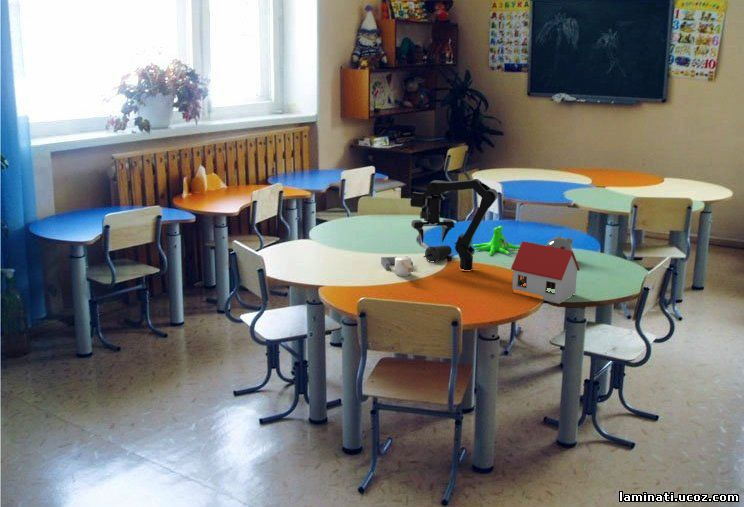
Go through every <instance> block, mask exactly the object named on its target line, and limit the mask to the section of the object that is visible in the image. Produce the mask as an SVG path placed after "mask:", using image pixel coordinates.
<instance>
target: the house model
mask: <svg viewBox="0 0 744 507" xmlns="http://www.w3.org/2000/svg"><path fill="white" fill-rule="evenodd" d="M519 246H520V248H519V249H517V253H516V255H515V258H514V260H513V262H512V264H511V268H510V270H512V286H511V287H512V289H515V290H520V291H524V292H528V293H532V294H537V295H540V296H542V297H543V298H544V300H543V301H547V302H550V303H555V304H558V305H560V304H561V303H563V302H564V301H563V300H565V299H567V298H568V297H570V296H571V295H573V294H575V295H576V291H577V290H576V289H577V278H578V272H579V271H580V266H579V264H578V261H577V258H576V256H575V252H574V251H573V250H572V251H571V250H566V249H565V247H563V246H562V247H560V248H556V247H550V246H547V245H544V244H540V243H533V242H528V241H525V240H524V241H521V243H520V245H519ZM524 283H526V286H523V284H524ZM521 285H522V286H521ZM547 288H551V289H555V293H552V292H551V291H550V292H548V291H546V290H547ZM570 298H571V297H570ZM567 300H568V299H567ZM562 301H563V302H562ZM565 301H566V300H565Z"/></svg>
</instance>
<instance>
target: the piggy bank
mask: <svg viewBox="0 0 744 507" xmlns="http://www.w3.org/2000/svg"><path fill="white" fill-rule="evenodd" d="M573 243H574V240H573V238H572V237H568V238H565V237H562V236H561V235H557V236H556V237H554V238H551V239H550V240H549V241H548V242H547V244H546V246H550V247H556V248H560V247H562V246H563V247H565V249H566V250H571V251H573V247H572V244H573Z"/></svg>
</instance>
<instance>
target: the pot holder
mask: <svg viewBox="0 0 744 507" xmlns="http://www.w3.org/2000/svg"><path fill="white" fill-rule="evenodd" d="M396 257H397V256H385V257H384V256H382V257H380V258H381V259H380V264H381V265H382V267H383V269H384V270H385V269H386V270H385V271H389V270H391V265H395V258H396ZM404 257H409V256H404ZM411 265H412V267H413V268H414V262H413V261H412V260H411Z"/></svg>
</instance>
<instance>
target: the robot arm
mask: <svg viewBox="0 0 744 507" xmlns="http://www.w3.org/2000/svg"><path fill="white" fill-rule="evenodd" d="M462 190H474V191H475V192H476V194H477V195H478V196H479V197H481V199H480V203H479V207H478V209H477V211H476V213H475V214H474V216H473V218H472V220H471V222H470V224H469V226H468V228H466V231H465V233H464V234H463V233H461V234H460V235H458V237H457V240H456V242H455V243H454V245H455V246H454V249H455V251H456V253H457V255H458V257H459V266H460V268H461V269H464V270H471V269H472V268H473V264H474V262H473V261H474V256H473V255H474V254H475V252H476V250H475V248H474V247H473V246H472V243H473V239H474V235H475V234H476V232H477V230H478V228H479V227H480V225H481V223H482V222H483V219H484V218H485V215H486V213H487V212H488V210H489V209H490V208H491V206H492V205H493V204H494V203H495V202H496V200H497V199H498V197H499V193H498V191H497V190H496V189H494V188H491V187H490V186H489V185H487V184H486V183H484V182H482V181H481V180H480V179H479V178H473V179H464V180H454V181H453V180H452V181H446V180H438V179H435V180H432V181H431V182H429V183H428V184H427V186H426V190H425V191H424V192H417V191H413V192H412V193H411V198H410V202H409V203H410V207H411V208H419V209H420V208H421V209H424V208H425V207H427V209H426V211H420V212H419V219H414V220H412V221H411V227H412V228H413V229H414V230H416V231H417V232H418V234H419V238H420V241H421V243H422V244H423V243H424V240H425V239H424V237H425V236H424V228H423V227H441V228H442V229H441V237H440V238H441V240H440V242H441V243H443V242H444V240H445V239H446V237H447V235H448V233H449V231H451V230H452V229H453V228H455V226H456V225H455V222H454V221H453V219H450V218H449V219H446V218H445V219H443V220H442V221H440V216H441V201H444V200H445V199H446V197H445V196H444V195H443V193H445V192H451V191H452V192H453V191H462ZM422 219H423V221H422Z"/></svg>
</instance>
